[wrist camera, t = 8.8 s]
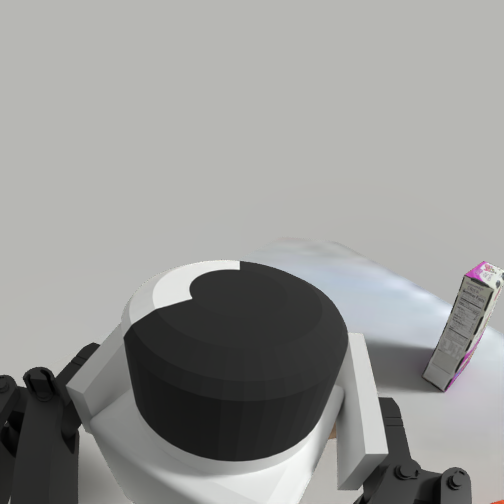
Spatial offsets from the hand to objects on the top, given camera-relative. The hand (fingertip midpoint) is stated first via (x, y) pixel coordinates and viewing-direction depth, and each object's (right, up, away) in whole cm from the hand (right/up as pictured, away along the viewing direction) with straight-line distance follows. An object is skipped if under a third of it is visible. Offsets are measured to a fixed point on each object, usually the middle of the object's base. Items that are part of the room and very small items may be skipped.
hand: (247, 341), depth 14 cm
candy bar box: (+30, -14, +23) cm, 40 cm away
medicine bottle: (-1, -8, -2) cm, 8 cm away
